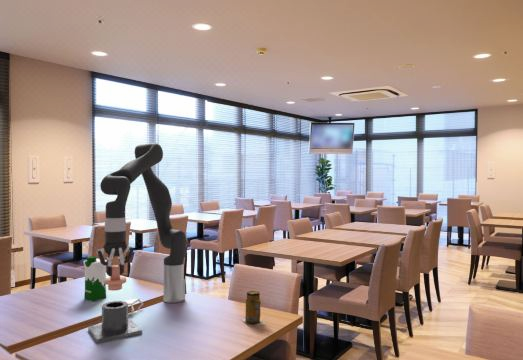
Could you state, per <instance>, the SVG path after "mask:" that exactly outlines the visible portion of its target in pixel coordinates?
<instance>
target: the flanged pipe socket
mask: <svg viewBox="0 0 523 360" xmlns="http://www.w3.org/2000/svg"><path fill="white" fill-rule="evenodd" d="M124 301H125V300H113V301H109V302H105V303H103V304H102V305H101V324H96V325H91V326H88V327H87V329H88V332H89V334H90V335H91V337H92V338H93V340H94V341H95V343H96V344H101V343H106V342H112V341H116V340H120V339H125V338H130V337H134V336H139V335H143V329H141V327H139V325H137V323H136V322H134V321H133V320H132V319H131V318H129V305H128V303H127V302H124Z"/></svg>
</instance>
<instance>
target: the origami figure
mask: <svg viewBox="0 0 523 360" xmlns="http://www.w3.org/2000/svg"><path fill="white" fill-rule="evenodd" d="M123 301H124V302H127V303H128V306H131V312H130V313H131V314H130V315H131V316H133V315H134V313H133V312H134V311H135V308H134V304H135V303H137V302H139V303H140V305H139V307H138V308H137V310H138V311H141V307H142V306H143V305H144V302H143V301H141V299H140V298H133V299H127V300H123Z"/></svg>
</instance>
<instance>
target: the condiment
mask: <svg viewBox="0 0 523 360" xmlns="http://www.w3.org/2000/svg"><path fill="white" fill-rule="evenodd" d="M260 296H261V295H260V291H257V290H249V291H247V292H246V298H245V316H244V317H245V318H241V319H240V320H241V321H242V322H244V324H246V325H247V326H249V327H256V326H261V325H262V326H263V325H266V324H267V323H265V322H264V321H263V320H261V304H262V303H261V297H260Z"/></svg>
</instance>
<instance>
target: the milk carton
mask: <svg viewBox="0 0 523 360" xmlns="http://www.w3.org/2000/svg"><path fill="white" fill-rule="evenodd" d="M104 260H105V262H106V261H107V259H104ZM82 263H83V267H84V298H83V299H84V300H87V301H90V302H97V301H100V300H103V299H106V298H107V287H106V285H107V284H104V279H106V278H107V276H106V275H107V273H106V266H105V265H103V264H101V262H100V260H99V258H97V256H95V255H91V256H87V257H86V260H83V262H82Z"/></svg>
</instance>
